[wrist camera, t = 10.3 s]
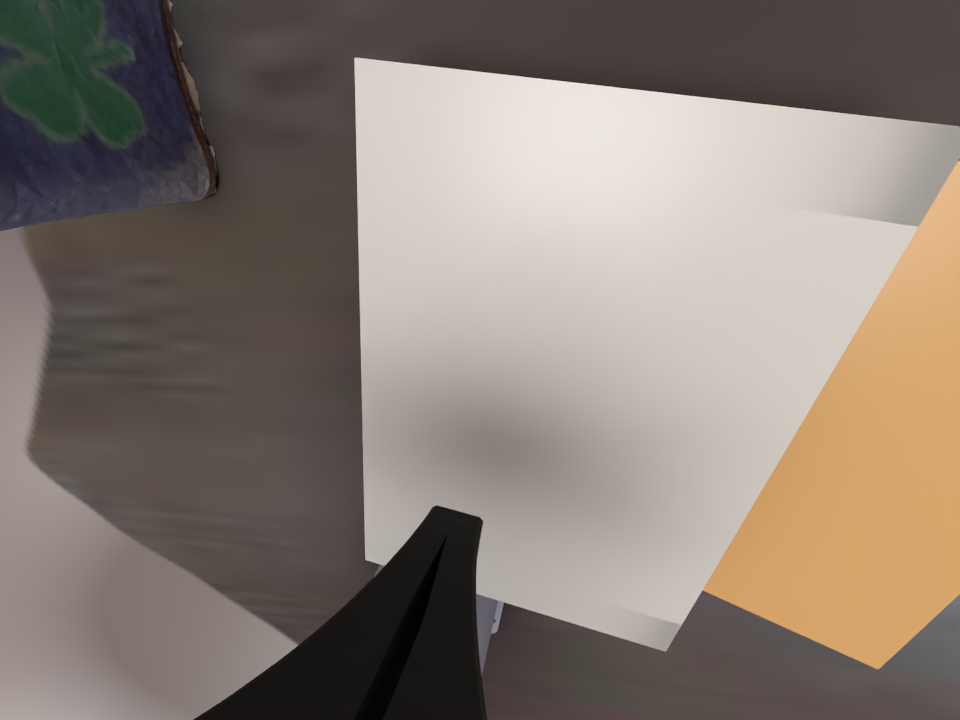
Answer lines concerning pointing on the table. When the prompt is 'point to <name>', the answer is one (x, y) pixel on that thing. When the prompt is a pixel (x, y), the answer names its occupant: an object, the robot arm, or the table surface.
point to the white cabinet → (607, 317)
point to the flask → (96, 111)
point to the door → (870, 472)
